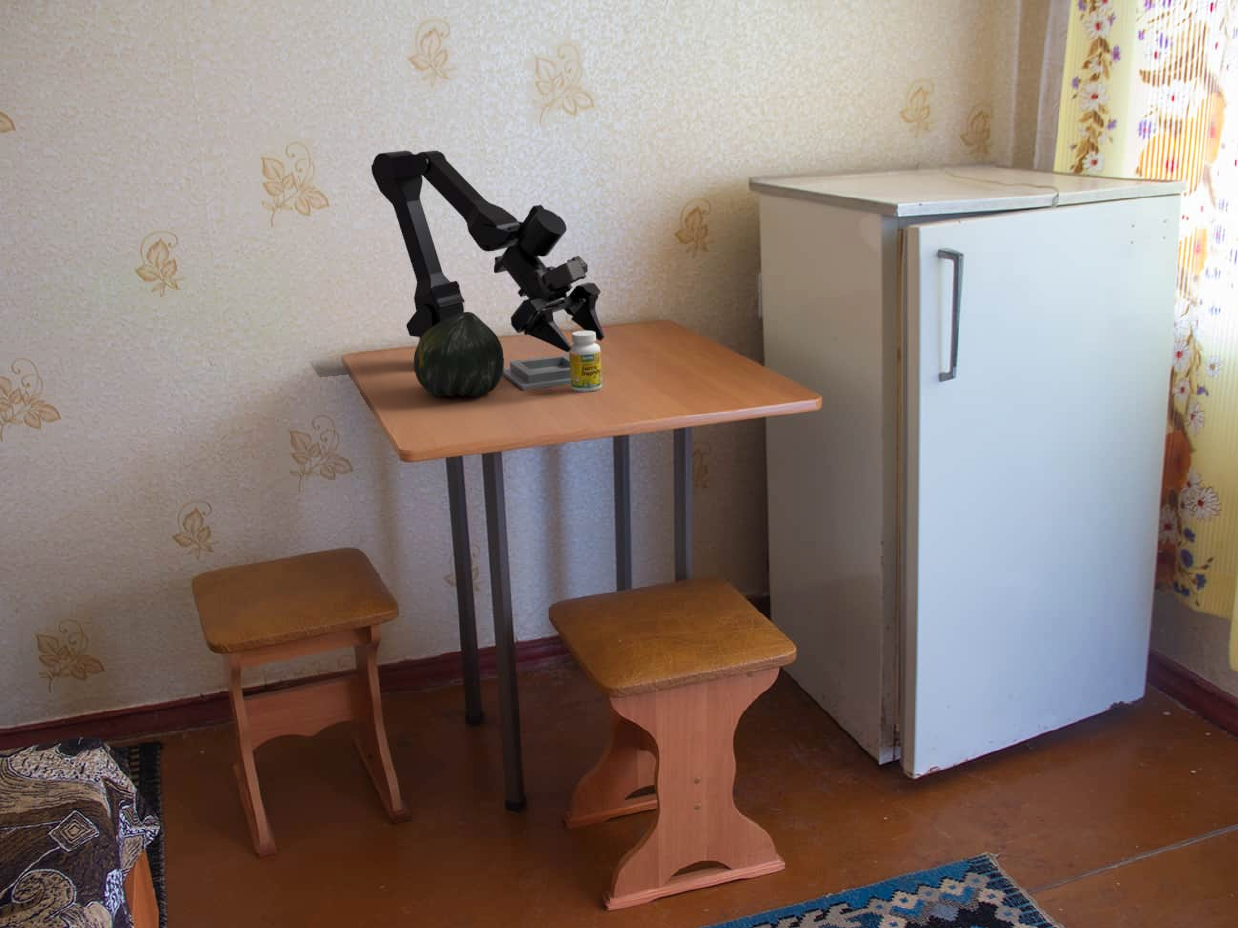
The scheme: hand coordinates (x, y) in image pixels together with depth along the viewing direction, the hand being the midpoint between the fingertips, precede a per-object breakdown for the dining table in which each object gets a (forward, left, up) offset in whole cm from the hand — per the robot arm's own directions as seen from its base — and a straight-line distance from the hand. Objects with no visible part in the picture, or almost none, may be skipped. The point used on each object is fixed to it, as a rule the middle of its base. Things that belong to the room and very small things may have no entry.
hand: (586, 344), depth 195 cm
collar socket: (-11, -3, -8) cm, 14 cm away
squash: (-8, -20, -8) cm, 23 cm away
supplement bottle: (0, 0, -8) cm, 8 cm away
